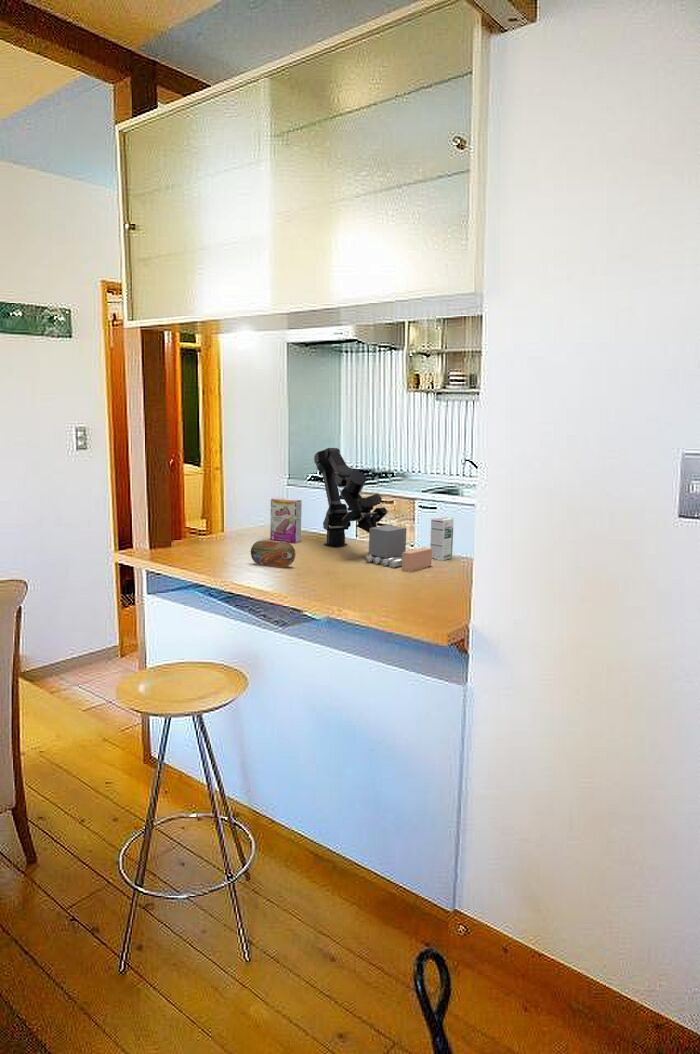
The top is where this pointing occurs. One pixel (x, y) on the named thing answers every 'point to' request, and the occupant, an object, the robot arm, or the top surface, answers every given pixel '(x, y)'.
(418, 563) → the block
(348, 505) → the robot arm
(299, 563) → the top surface
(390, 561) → the roller track
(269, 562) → the tin
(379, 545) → the grey block
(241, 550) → the top surface
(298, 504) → the candy bar box
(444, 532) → the syrup box
